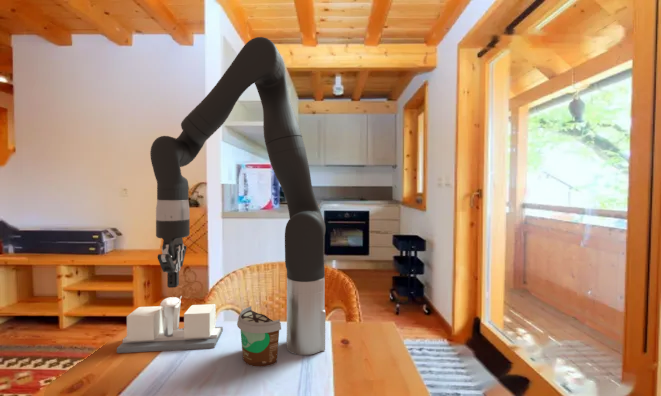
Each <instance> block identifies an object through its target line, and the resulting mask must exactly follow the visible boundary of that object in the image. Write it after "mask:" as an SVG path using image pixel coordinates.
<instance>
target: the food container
mask: <svg viewBox="0 0 661 396" xmlns="http://www.w3.org/2000/svg"><path fill="white" fill-rule="evenodd" d="M236 323H237V324H236V325H237V328H238V329H239V330H240V340H241V350H242V351H241V352H242V361H243V363H244V364H246V365H248V366H250V367H256V368H257V367H259V368H260V367H262V368H263V367H267V366H272V365H274V364H276V363H278V351H279V337H280V330H282V324H281V320H280V319H276V320H272V319H270V317H268V316H267V315H266V314H263V313H258V312H256V311H254V310H252V305H251V306H248V307H246V308H244V309H242V310H241V311H240V313H239V315H238V318H237V322H236Z"/></svg>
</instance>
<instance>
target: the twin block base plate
mask: <svg viewBox="0 0 661 396" xmlns="http://www.w3.org/2000/svg"><path fill="white" fill-rule="evenodd" d="M216 311H217V310H216V304H215V303H213V304H210V303H209V304H192V305H191V306H189V308H188V309H187V310H186V311H185V312H184V313H183V328H179V329H178V334H177V335H175V336H173V337H164V335H163V324H162V314H161V305H158V306H154V305H152V306H139V307H137V308H135V309H134V310H133V311H132V312H131V313H129V314H128V315H126V336H125V337H123V339H122V343H120V345H118V346H117V347H116V353H117V354H126V353H128V354H129V353H143V352H147V353H148V352H161V351H162V352H163V351H164V352H165V351H179V350H182V351H183V350H199V349H215V347H216V346H217V345H218V342H219V339H220V338H221V336H222V333H223V330H224V328H223V327H224V326H216V323H217V321H216V318H217V317H216V315H217V313H216Z"/></svg>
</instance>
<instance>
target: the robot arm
mask: <svg viewBox="0 0 661 396" xmlns="http://www.w3.org/2000/svg"><path fill="white" fill-rule="evenodd" d="M252 85H255V88H256V90H257V93H258V96H259V99H260V102H261V103H260V104H261V106H262V112H263V120H262V121H263V126H262V127H263V138H264V143H265V148H266V151H267V155H268V159H269V162H270V165H271V167H272V170H273V173H274V175H275V178H276V180H277V181H278V183H279V185H280V187H281V189H282V191H283V194H284V197H285V200H286V205H287V209H288V216H289V219H288V220H287V223H286V225H285V228H284V261H285V263H284V264H285V265H284V266H285V268H286V269H285V270H286V349H287V350H288V352H289V353H292V354H295V355H299V356H310V355H313V354H317V353H319V352H323V351H324V352H325V351H326V309H325V279H326V278H325V270H326V268H325V250H324V249H325V235H326V228H327V227H326V223H325V220H324V217H323V215H322V213H321V210H320V207H319V204H318V203H317V202H318V201H317V200H316V196H315V192H314V189H313V185H312V178H311V171H310V165H309V159H308V156H307V151H306V147H305V143H304V138H303V135H302V131H301V129H300V128H301V127H300V126H299V122H298V119H297V116H296V113H295V111H294V108H293V105H292V103H291V98H290V94H289V89H288V88H289V87H288V83H287V73H286V67H285V62H284V59H283V57H282V55H281V53H280V52H279V50H278V48H277V46H276V45H275V43H274V42H273V41H272V40H271V39H270V38H267V37H264V36H257V37H253V38H251V39H250V40H248V41H247V42H246V43H245V44H244V45H243V47H242V48H241V49H240V51H239V52H238V54H237V55H236V57H234V58H233V61H232V62H231V64H230V65H229V67H228V68H227V69H226V71H225V72H224V73H223V74H222V76H221V78H220V79H219V80H218V81H217V83H216V84H215V86H214V87H213V88H212V89H211V90H210V92H208V94H206V96H205V97H204V98H203V99H202V100H201V101H200V102H199V103H198V104H197V105H196V106H195V108H193V109H192V110H191V111H190V112H189V113H188V114H187V115H186V116H185V117H184V118H183V119H182V121H181V123H180V128H181V131H182V132H180V134H179V136H178V137H177V138H176V137H172V136H169V135H160V136H159V137H156V139H154V141H153V142H152V144H151V147H150V151H149V152H150V153H149V154H150V162H151V166H152V170H153V173H154V177H155V180H156V207H155V236H156V238H157V239H162V246H161V253H158V254H157V261H158V263H159V266H160V268H161V269H162V273H165V274H166V273H167V274H166V275H167V288H170V289H172V288H177V287H178V286H179V285H180V276H179V275H180V271H181V267H183V265H184V260H185V256H186V252H187V249H188V248H187V245H185V244H184V240H183V238H188V237H189V236H190V231H191V230H190V229H191V228H190V226H191V225H190V218H191V217H190V212H191V211H190V202H189V181H188V179H187V178H186V177H184V176H183V175H182V170H181V168H183V167H185V166H187V165H189V164H190V163H191V162H192V161H194V159H196V157H197V156H198V155H199V153H200V151H201V150H202V149H203V147H204V145H205V143H206V141H207V140H209V138H211V137H212V136H213V134H215V133H216V132H217V131H218V129H220V128H221V127H222V126H223V124H225V122H226V121H227V119H228V118H229V116H230V114H231V113H232V111H233V109H234V107H235V105H236V103H237V102H238V100H239V99H240V98H241V96H242V95H243V94H244V93H245V91H246V90H247V89H249V87H250V86H252Z"/></svg>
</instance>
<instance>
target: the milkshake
mask: <svg viewBox="0 0 661 396" xmlns="http://www.w3.org/2000/svg"><path fill="white" fill-rule="evenodd" d="M182 297H183V296H182V295H180V297H176V296H175V297H173V296H172V297H171V296H170V297H166V298H164V299H163V300H161V302H160V304H159V306H161V314H162V324H163V335H164V337H173V336H175V335H177V334H178V329H180V326H179V325H180V314H181V313H180V312H181V304H182V301H181V299H182Z"/></svg>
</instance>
